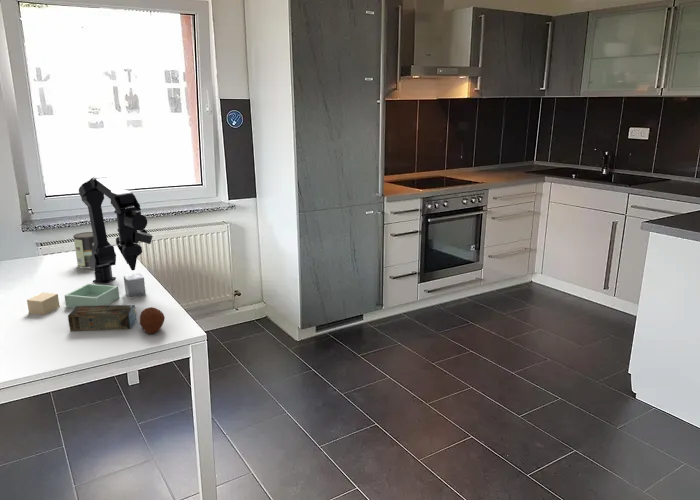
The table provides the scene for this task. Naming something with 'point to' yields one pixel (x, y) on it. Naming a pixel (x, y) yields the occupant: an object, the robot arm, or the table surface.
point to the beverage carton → (102, 317)
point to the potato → (151, 320)
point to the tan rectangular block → (43, 303)
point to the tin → (134, 285)
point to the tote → (92, 295)
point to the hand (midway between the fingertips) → (131, 266)
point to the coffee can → (83, 248)
